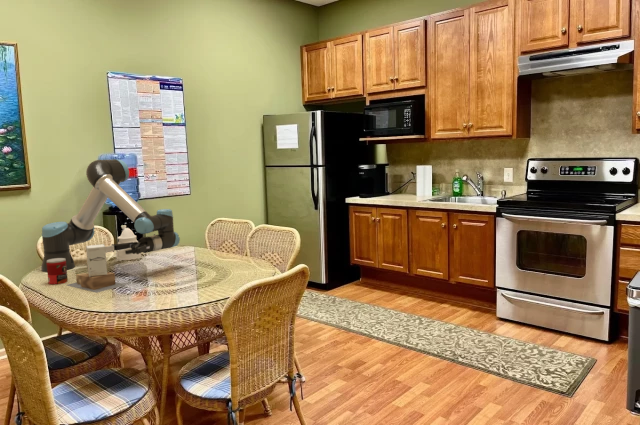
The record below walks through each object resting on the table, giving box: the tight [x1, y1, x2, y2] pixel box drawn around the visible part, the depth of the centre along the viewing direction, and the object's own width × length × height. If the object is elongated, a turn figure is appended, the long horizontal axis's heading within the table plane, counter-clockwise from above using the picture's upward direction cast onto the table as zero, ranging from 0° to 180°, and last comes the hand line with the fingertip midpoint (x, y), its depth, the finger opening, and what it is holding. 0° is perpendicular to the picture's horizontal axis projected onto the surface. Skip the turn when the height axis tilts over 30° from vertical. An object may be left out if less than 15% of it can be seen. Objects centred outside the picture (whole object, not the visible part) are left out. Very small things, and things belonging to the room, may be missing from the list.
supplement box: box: [85, 244, 108, 277], centre depth 214 cm, size 7×7×13 cm
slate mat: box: [66, 281, 127, 294], centre depth 217 cm, size 24×14×1 cm, turn 56°
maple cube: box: [75, 272, 88, 284], centre depth 220 cm, size 4×4×4 cm
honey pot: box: [115, 224, 142, 261], centre depth 275 cm, size 13×13×18 cm
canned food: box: [46, 258, 69, 285], centre depth 222 cm, size 8×8×11 cm
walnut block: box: [80, 271, 116, 290], centre depth 215 cm, size 10×10×5 cm
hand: (109, 252), depth 219 cm, fingers open, 13 cm apart
